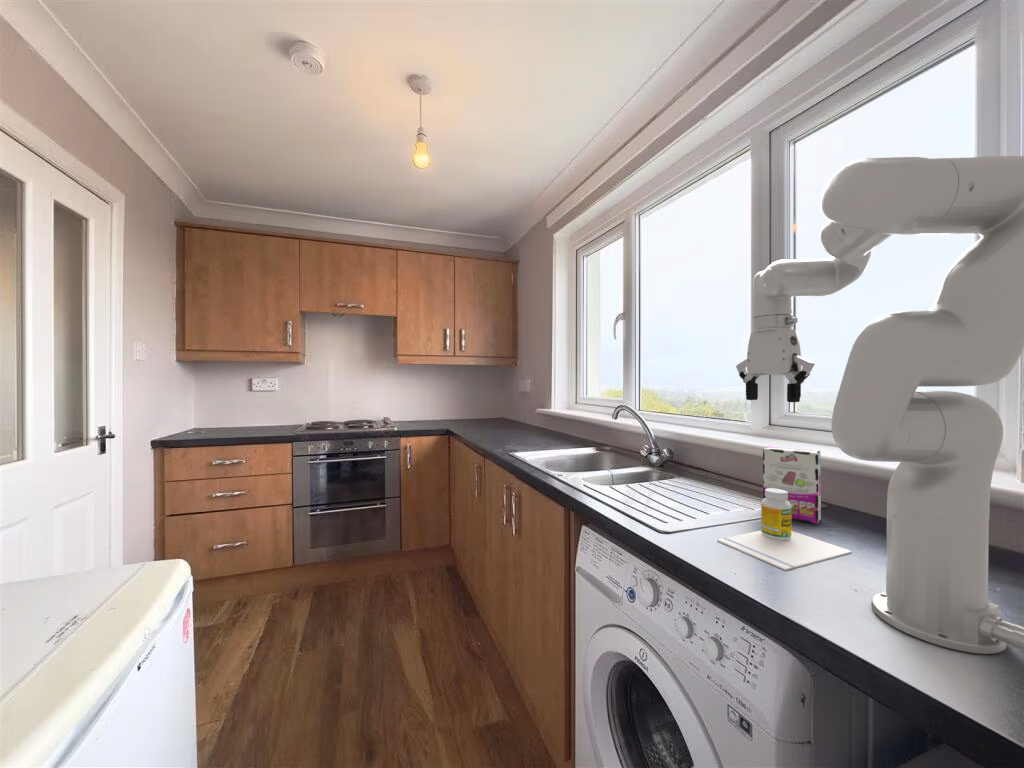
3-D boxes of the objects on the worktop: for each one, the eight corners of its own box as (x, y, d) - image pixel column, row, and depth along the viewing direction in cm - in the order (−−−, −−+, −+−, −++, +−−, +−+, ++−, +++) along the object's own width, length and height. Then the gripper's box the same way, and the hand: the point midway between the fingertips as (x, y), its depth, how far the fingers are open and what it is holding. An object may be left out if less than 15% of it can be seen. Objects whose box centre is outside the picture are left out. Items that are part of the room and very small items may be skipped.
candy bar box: (821, 519, 96) (821, 450, 96) (818, 525, 93) (819, 453, 92) (766, 509, 104) (766, 445, 104) (762, 514, 100) (762, 447, 100)
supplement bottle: (768, 529, 89) (768, 485, 89) (796, 537, 85) (796, 491, 84) (756, 534, 86) (756, 489, 86) (784, 543, 82) (784, 495, 82)
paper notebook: (851, 552, 78) (851, 550, 78) (785, 570, 71) (785, 568, 71) (779, 528, 91) (779, 526, 91) (717, 541, 84) (717, 539, 84)
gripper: (824, 321, 85) (823, 402, 86) (748, 330, 101) (748, 398, 102) (801, 319, 83) (800, 403, 83) (727, 329, 99) (726, 399, 99)
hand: (771, 400), depth 92 cm, fingers open, 9 cm apart
